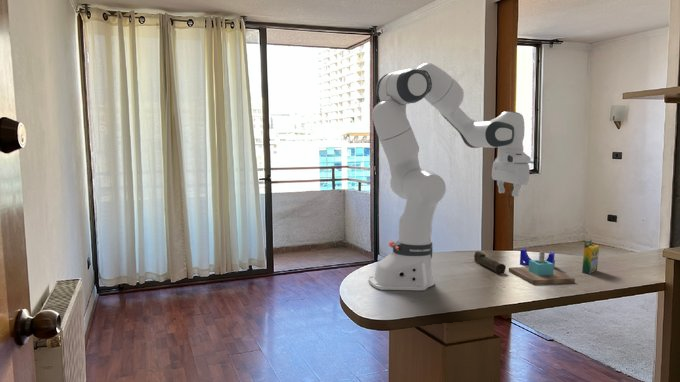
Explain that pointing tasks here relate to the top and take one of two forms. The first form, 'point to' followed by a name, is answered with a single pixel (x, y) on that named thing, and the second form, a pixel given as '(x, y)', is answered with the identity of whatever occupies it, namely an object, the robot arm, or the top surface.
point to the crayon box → (590, 258)
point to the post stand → (541, 279)
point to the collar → (541, 267)
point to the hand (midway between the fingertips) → (508, 194)
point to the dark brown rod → (489, 263)
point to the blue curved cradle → (526, 259)
